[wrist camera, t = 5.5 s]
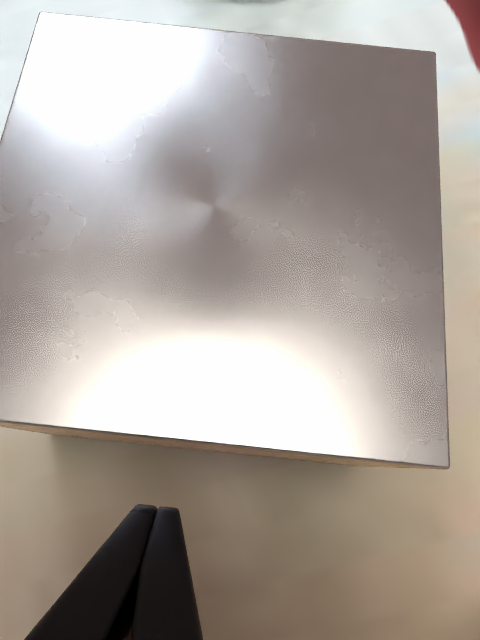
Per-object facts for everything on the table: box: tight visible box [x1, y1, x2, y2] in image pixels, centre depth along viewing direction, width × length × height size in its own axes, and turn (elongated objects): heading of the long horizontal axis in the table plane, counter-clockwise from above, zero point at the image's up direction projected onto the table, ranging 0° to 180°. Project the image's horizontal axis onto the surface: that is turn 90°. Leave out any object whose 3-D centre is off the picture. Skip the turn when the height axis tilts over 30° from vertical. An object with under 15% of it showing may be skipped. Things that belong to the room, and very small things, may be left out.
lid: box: [0, 12, 450, 469], centre depth 14 cm, size 14×14×1 cm
